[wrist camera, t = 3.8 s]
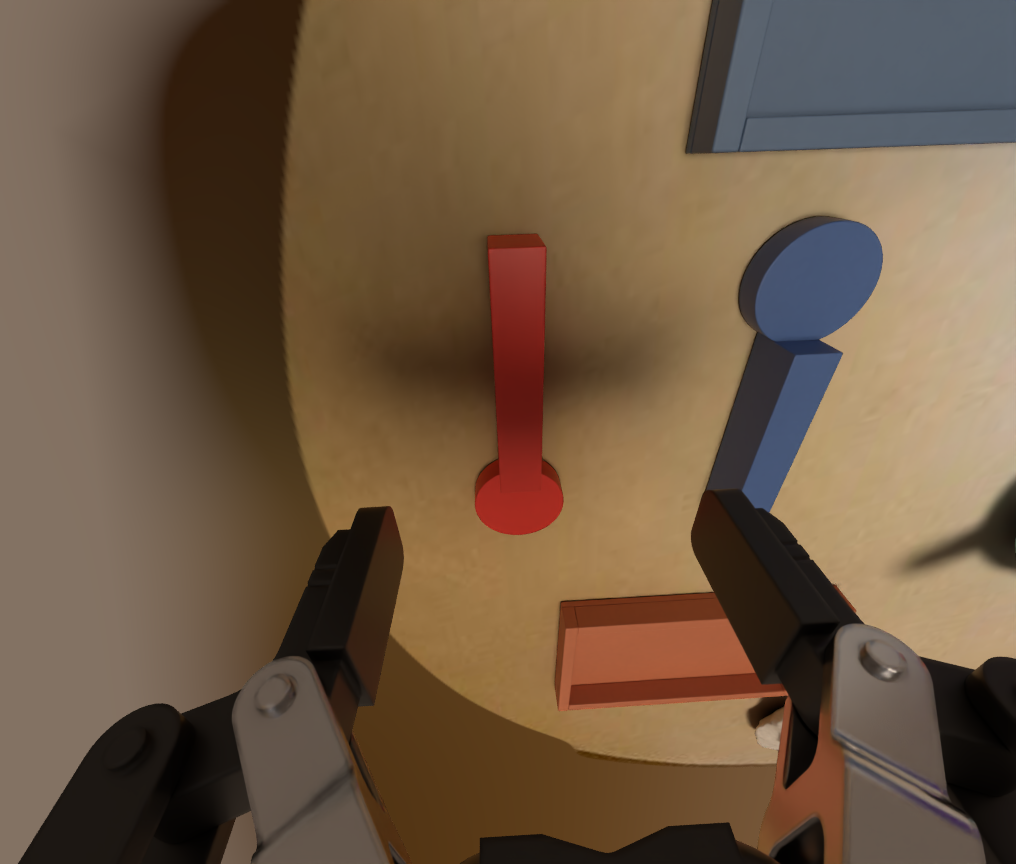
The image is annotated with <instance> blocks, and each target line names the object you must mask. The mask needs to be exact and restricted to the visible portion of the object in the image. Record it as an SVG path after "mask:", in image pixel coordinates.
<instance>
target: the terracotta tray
mask: <svg viewBox="0 0 1016 864" xmlns="http://www.w3.org/2000/svg"><path fill="white" fill-rule="evenodd" d="M833 586H834V587H835V588H836V590H837V591H838V592H839V593H840V595H841V596H842V597H843V598H844V600H845V601H846V602H847V604H848V605H849V606H850V607H851V609H852V610H853V611H854V612H856V610H855V608H854V607H853V606H852V605H851V603H850V602H849V601H848V600H847V599H846V597H845V596H844V595H843V594H842V592H841V591H840V590H839V588H838V587H837V586H836V585H833ZM555 690H556V699H557V706H558V711H567V710H580V709H595V708H610V707H625V706H640V705H654V704H669V703H684V702H699V701H714V700H729V699H744V698H759V697H774V696H789V695H788V693H787V692H786V690H785V688H784V686H783V684H765V685H762V684H761V682H760V680H759V679H758V677H757V675H756V673H755V671H754V669H753V667H752V665H751V663H750V661H749V659H748V657H747V655H746V653H745V651H744V649H743V647H742V645H741V644H740V642H739V640H738V638H737V636H736V634H735V632H734V630H733V628H732V626H731V624H730V622H729V620H728V618H727V616H726V614H725V612H724V610H723V608H722V607H721V605H720V603H719V601H718V599H717V597H716V595H715V593H701V594H685V595H668V596H652V597H635V598H619V599H603V600H586V601H570V602H561V609H560V622H559V636H558V649H557V662H556V676H555Z"/></svg>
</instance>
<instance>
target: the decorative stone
mask: <svg viewBox="0 0 1016 864" xmlns="http://www.w3.org/2000/svg"><path fill="white" fill-rule="evenodd" d="M783 714H784V707H782V708H781V709H778V710H776V711H775V712H774V713H773V714H771V715H769V716H767V717H765V718H763V719H761V720H760V721H759V723H760V724H759V725H758V726H757V727H756V731H755V736H756V739H757V743H758V744H759V745H761V746H762V747H765V748H771V749H776V750H779V744H780V737H781V729H782V722H783Z"/></svg>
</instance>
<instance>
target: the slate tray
mask: <svg viewBox="0 0 1016 864" xmlns="http://www.w3.org/2000/svg"><path fill="white" fill-rule="evenodd" d="M1012 142H1016V0H713V3H712V9H711V14H710V20H709V26H708V31H707V37H706V42H705V48H704V54H703V59H702V65H701V70H700V76H699V82H698V87H697V93H696V98H695V104H694V110H693V115H692V121H691V126H690V132H689V138H688V143H687V149H686V153H728V152H756V151H785V150H813V149H842V148H870V147H899V146H927V145H955V144H984V143H1012Z"/></svg>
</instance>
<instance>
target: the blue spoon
mask: <svg viewBox="0 0 1016 864" xmlns="http://www.w3.org/2000/svg"><path fill="white" fill-rule="evenodd" d="M882 262H883V253H882V247H881V244H880V241H879V239H878V237H877V236H876V234H875V233H874V232H873V231H872V230H871V229H870V228H869V227H867V226H866V225H864V224H862V223H859V222H855V221H850V220H845V219H839V218H833V217H824V216H820V217H812V218H808V219H804V220H801V221H798V222H796V223H794V224H792V225H790V226H788V227H786V228H784V229H783V230H781V231H780V232H778V233H777V234H776V235H774V236H773V237H772V238H771V239H770V240H769V241H768V242H766V243H765V244H764V245H763V247H762V248H761V249H760V250H759V251H758V252H757V254H756V255H755V256H754V258H753V259H752V261H751V263H750V264H749V266H748V268H747V270H746V272H745V274H744V277H743V280H742V283H741V287H740V294H739V304H740V309H741V312H742V315H743V317H744V319H745V321H746V322H747V323H748V324H749V325H750V326H751V327H752V328H753V329H755V330H756V331H758V333H757V336H756V339H755V342H754V345H753V348H752V351H751V354H750V357H749V361H748V364H747V367H746V370H745V373H744V376H743V379H742V382H741V385H740V388H739V391H738V394H737V397H736V400H735V403H734V406H733V409H732V412H731V416H730V419H729V422H728V425H727V428H726V431H725V434H724V437H723V440H722V443H721V446H720V449H719V452H718V455H717V458H716V461H715V464H714V467H713V471H712V474H711V477H710V480H709V483H708V486H707V489H706V490H716V489H735V488H737V489H740V490H741V491H742V492H743V493H744V494H745V495H746V496H747V498H748V499H749V500H750V502H751V503H752V504H753V506H754V507H755V508H763V509H765V510H766V511H767V512H770V510H771V508H772V506H773V504H774V501H775V499H776V497H777V495H778V493H779V491H780V488H781V486H782V484H783V482H784V480H785V478H786V476H787V473H788V471H789V469H790V467H791V465H792V463H793V460H794V458H795V456H796V454H797V452H798V450H799V447H800V445H801V443H802V441H803V439H804V437H805V435H806V432H807V430H808V428H809V426H810V424H811V422H812V419H813V417H814V415H815V413H816V411H817V409H818V406H819V404H820V402H821V400H822V398H823V396H824V394H825V391H826V389H827V387H828V385H829V383H830V381H831V378H832V376H833V374H834V372H835V370H836V368H837V365H838V363H839V361H840V359H841V357H842V355H843V353H842V352H840V351H839V350H837V349H835V348H833V347H831V346H829V345H828V344H826V343H824V342H822V341H820V340H819V339H821V338H823V337H825V336H827V335H829V334H831V333H833V332H834V331H836V330H837V329H839V328H840V327H842V326H843V325H844V324H846V323H847V322H848V321H849V320H850V319H851V318H852V317H853V316H855V314H856V313H857V312H858V311H859V310H860V309H861V308H862V307H863V305H864V304H865V303H866V301H867V300H868V298H869V297H870V295H871V294H872V292H873V290H874V288H875V286H876V284H877V282H878V279H879V276H880V273H881V269H882Z"/></svg>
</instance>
